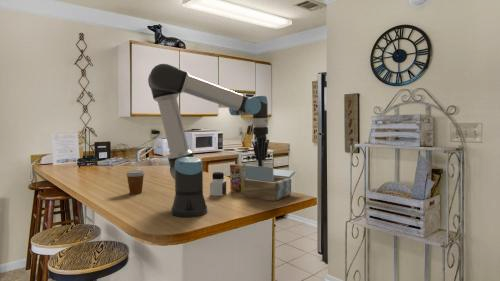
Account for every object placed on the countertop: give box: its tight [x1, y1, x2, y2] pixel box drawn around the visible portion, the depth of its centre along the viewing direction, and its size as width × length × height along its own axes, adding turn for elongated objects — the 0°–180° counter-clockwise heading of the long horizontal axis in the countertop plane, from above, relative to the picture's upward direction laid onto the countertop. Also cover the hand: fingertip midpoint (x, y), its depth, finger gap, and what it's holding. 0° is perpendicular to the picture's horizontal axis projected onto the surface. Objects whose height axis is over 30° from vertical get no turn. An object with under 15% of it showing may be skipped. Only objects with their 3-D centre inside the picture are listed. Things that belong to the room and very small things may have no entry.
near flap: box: [245, 164, 274, 182], centre depth 165 cm, size 1×16×7 cm, turn 55°
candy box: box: [229, 163, 247, 194], centre depth 182 cm, size 9×4×15 cm, turn 46°
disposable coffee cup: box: [125, 169, 145, 195], centre depth 181 cm, size 10×10×12 cm
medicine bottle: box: [209, 171, 227, 197], centre depth 176 cm, size 7×7×12 cm
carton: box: [244, 177, 292, 202], centre depth 172 cm, size 16×20×9 cm
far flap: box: [273, 168, 296, 179], centre depth 182 cm, size 1×16×7 cm
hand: (261, 172), depth 167 cm, fingers closed
